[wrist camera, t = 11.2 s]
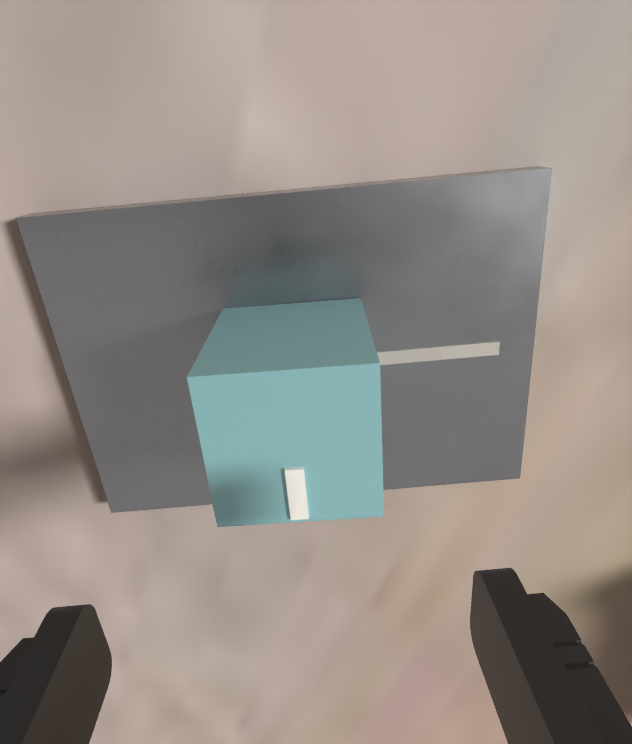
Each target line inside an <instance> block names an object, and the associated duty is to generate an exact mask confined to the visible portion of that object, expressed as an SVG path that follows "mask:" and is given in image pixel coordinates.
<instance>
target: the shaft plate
mask: <svg viewBox="0 0 632 744" xmlns="http://www.w3.org/2000/svg"><path fill="white" fill-rule="evenodd" d="M551 172H552V168H547V167H528V168H517V169H506V170H496V171H485V172H474V173H463V174H453V175H442V176H431V177H420V178H410V179H399V180H388V181H378V182H367V183H356V184H345V185H335V186H324V187H313V188H302V189H292V190H281V191H270V192H259V193H249V194H238V195H227V196H216V197H206V198H195V199H184V200H174V201H163V202H152V203H141V204H131V205H120V206H109V207H98V208H88V209H77V210H66V211H55V212H45V213H34V214H29V215H25V216H21V217H17V218H16V221H17V224H18V227H19V230H20V233H21V236H22V239H23V242H24V245H25V248H26V252H27V255H28V258H29V261H30V264H31V267H32V270H33V273H34V276H35V279H36V282H37V285H38V289H39V292H40V295H41V298H42V301H43V304H44V307H45V310H46V313H47V316H48V319H49V322H50V325H51V329H52V332H53V335H54V338H55V341H56V344H57V347H58V350H59V353H60V356H61V359H62V362H63V366H64V369H65V372H66V375H67V378H68V381H69V384H70V387H71V390H72V393H73V396H74V399H75V402H76V406H77V409H78V412H79V415H80V418H81V421H82V424H83V427H84V430H85V433H86V436H87V439H88V443H89V446H90V449H91V452H92V455H93V458H94V461H95V464H96V467H97V470H98V473H99V476H100V479H101V483H102V486H103V489H104V492H105V495H106V498H107V501H108V504H109V507H110V510H111V513H114V512H126V511H138V510H149V509H161V508H173V507H185V506H197V505H209V504H213V503H212V498H211V493H210V488H209V483H208V478H207V473H206V469H205V464H204V459H203V454H202V449H201V444H200V439H199V434H198V430H197V425H196V420H195V415H194V410H193V405H192V400H191V396H190V391H189V386H188V381H187V376H188V374H189V372H190V370H191V368H192V366H193V364H194V363H195V361H196V359H197V357H198V355H199V353H200V351H201V349H202V347H203V346H204V344H205V342H206V340H207V338H208V336H209V334H210V332H211V330H212V329H213V327H214V325H215V323H216V321H217V319H218V317H219V315H220V313H221V312H222V310H223V309H225V308H238V307H251V306H264V305H277V304H290V303H303V302H316V301H329V300H343V299H356V298H361V301H362V304H363V308H364V311H365V314H366V318H367V321H368V324H369V328H370V331H371V334H372V338H373V341H374V344H375V348H376V351H377V354H378V358H379V361H380V379H381V417H382V455H383V490H386V489H398V488H410V487H422V486H434V485H445V484H457V483H469V482H481V481H493V480H505V479H517V478H520V473H521V463H522V453H523V444H524V434H525V424H526V415H527V405H528V395H529V385H530V376H531V366H532V356H533V347H534V337H535V327H536V317H537V308H538V298H539V288H540V279H541V269H542V259H543V250H544V240H545V230H546V220H547V211H548V201H549V191H550V182H551Z"/></svg>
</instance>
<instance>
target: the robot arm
mask: <svg viewBox="0 0 632 744" xmlns="http://www.w3.org/2000/svg"><path fill="white" fill-rule="evenodd" d="M470 628H471V635H472V641H473V645H474V649H475V652H476V655H477V658H478V661H479V664H480V666H481V669H482V672H483V675H484V678H485V680H486V683H487V686H488V689H489V691H490V694H491V697H492V700H493V703H494V705H495V708H496V711H497V714H498V717H499V719H500V722H501V725H502V728H503V731H504V733H505V736H506V739H507V742H508V744H632V727H631V725H630V723H629V721H628V720H627V718H626V716H625V715H624V713H623V711H622V709H621V708H620V706H619V704H618V702H617V701H616V699H615V697H614V696H613V694H612V692H611V690H610V689H609V687H608V685H607V683H606V682H605V680H604V678H603V677H602V675H601V673H600V671H599V670H598V668H597V667H595V666H594V663H593V659H592V658H591V656H590V654H589V652H588V651H587V649H586V647H585V646H584V645H582V643H581V639H580V637H579V635H578V633H577V632H576V630H575V628H574V627H573V625H572V623H571V621H570V620H569V618H568V616H567V614H566V613H565V612H564V611H562V610H561V609H560V608H559V607H558V606H557V605H556V604H555V603H554V602H553V601H552V600H550V599H549V598H548V597H547V596H546V595H545V594H544V593H538V594H527V593H526V591H525V589H524V587H523V585H522V583H521V581H520V579H519V578H518V576H517V574H516V572H515V571H514V570H513V569H512V568H503V569H492V570H481V571H475V573H474V576H473V588H472V602H471V615H470ZM111 669H112V658H111V652H110V649H109V646H108V643H107V641H106V638H105V635H104V632H103V630H102V627H101V624H100V622H99V619H98V616H97V613H96V611H95V608H94V607H93V606H92V605H90V604H88V605H77V606H66V607H55V608H52V609H51V610H50V611H49V612H48V613H47V614H46V616H45V618H44V620H43V621H42V623H41V625H40V627H39V629H38V631H37V633H36V635H35V637H34V638H24V639H22V640H21V641H20V642H19V643H18V644H17V645H16V646H15V647H14V648H13V649H12V650H11V652H10V653H9V654H8V655H7V656H6V657H5V658H4V659H3V660H2V661H1V662H0V744H89V742H90V739H91V736H92V733H93V730H94V727H95V724H96V721H97V718H98V715H99V712H100V709H101V706H102V703H103V700H104V698H105V695H106V692H107V689H108V685H109V682H110V677H111Z"/></svg>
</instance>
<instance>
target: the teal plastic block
mask: <svg viewBox="0 0 632 744" xmlns="http://www.w3.org/2000/svg"><path fill="white" fill-rule="evenodd" d="M187 381H188V386H189V391H190V396H191V400H192V405H193V410H194V415H195V420H196V425H197V430H198V434H199V439H200V444H201V449H202V454H203V459H204V464H205V469H206V473H207V478H208V483H209V488H210V493H211V498H212V503H213V508H214V512H215V517H216V522H217V527H227V526H242V525H258V524H273V523H289V522H304V521H320V520H335V519H351V518H366V517H382V516H384V493H383V455H382V417H381V379H380V361H379V358H378V354H377V351H376V348H375V344H374V341H373V338H372V334H371V331H370V328H369V324H368V321H367V318H366V314H365V311H364V308H363V304H362V301H361V298H356V299H343V300H329V301H316V302H303V303H290V304H277V305H264V306H251V307H238V308H225V309H223V310H222V312H221V313H220V315H219V317H218V319H217V321H216V323H215V325H214V327H213V329H212V330H211V332H210V334H209V336H208V338H207V340H206V342H205V344H204V346H203V347H202V349H201V351H200V353H199V355H198V357H197V359H196V361H195V363H194V364H193V366H192V368H191V370H190V372H189V374H188V376H187Z"/></svg>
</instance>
